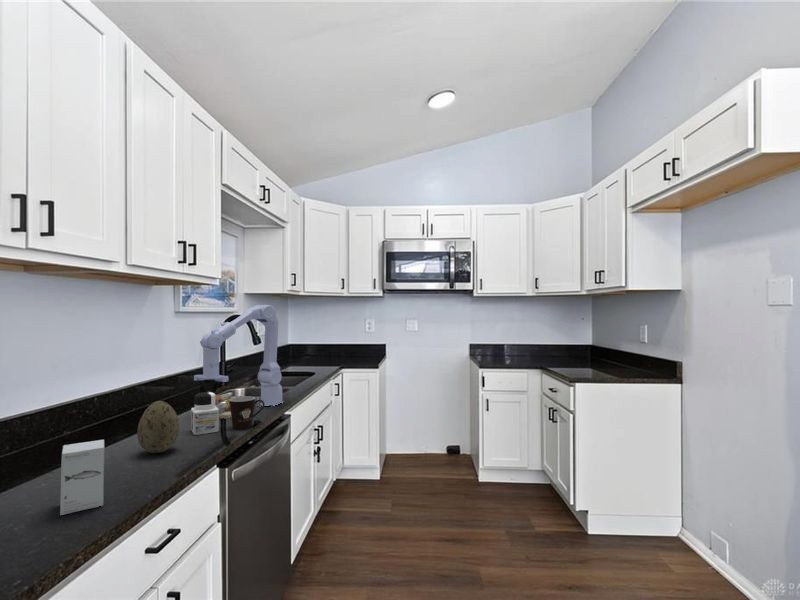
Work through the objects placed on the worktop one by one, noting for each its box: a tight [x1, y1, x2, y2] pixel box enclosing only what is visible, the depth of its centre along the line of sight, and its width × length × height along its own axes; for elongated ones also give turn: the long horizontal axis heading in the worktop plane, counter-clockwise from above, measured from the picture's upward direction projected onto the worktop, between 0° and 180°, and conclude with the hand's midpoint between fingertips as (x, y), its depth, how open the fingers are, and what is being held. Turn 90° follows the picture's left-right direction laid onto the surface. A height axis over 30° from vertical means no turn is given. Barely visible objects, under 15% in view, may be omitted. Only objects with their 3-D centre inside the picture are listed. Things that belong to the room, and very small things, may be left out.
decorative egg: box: [136, 400, 180, 454], centre depth 123 cm, size 11×11×15 cm
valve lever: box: [215, 391, 234, 402], centre depth 166 cm, size 13×2×1 cm, turn 164°
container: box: [190, 391, 220, 436], centre depth 145 cm, size 8×8×13 cm
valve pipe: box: [215, 395, 243, 414], centre depth 170 cm, size 15×4×5 cm, turn 164°
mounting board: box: [219, 409, 231, 420], centre depth 170 cm, size 16×13×1 cm
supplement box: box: [59, 439, 105, 516], centre depth 90 cm, size 7×7×13 cm
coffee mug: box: [229, 396, 265, 431], centre depth 150 cm, size 12×9×10 cm
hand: (211, 399), depth 163 cm, fingers closed
